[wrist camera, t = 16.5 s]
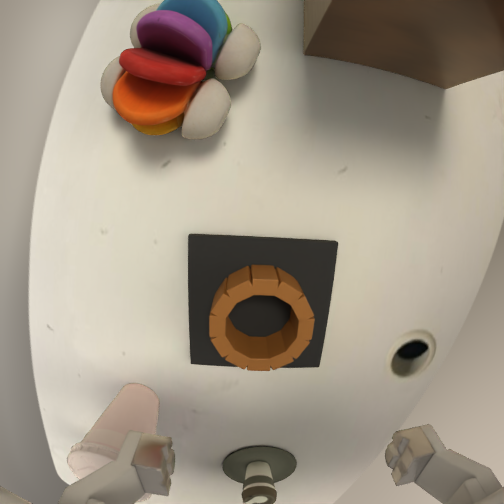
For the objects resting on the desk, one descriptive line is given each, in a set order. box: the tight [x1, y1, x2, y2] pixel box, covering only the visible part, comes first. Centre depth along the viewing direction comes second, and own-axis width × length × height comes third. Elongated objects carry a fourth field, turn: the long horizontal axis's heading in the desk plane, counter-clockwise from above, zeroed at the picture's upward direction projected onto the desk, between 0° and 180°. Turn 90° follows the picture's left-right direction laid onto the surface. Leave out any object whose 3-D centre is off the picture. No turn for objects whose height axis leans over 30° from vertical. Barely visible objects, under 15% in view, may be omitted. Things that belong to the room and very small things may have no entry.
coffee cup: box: [223, 447, 296, 504], centre depth 24 cm, size 12×12×5 cm
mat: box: [188, 234, 338, 368], centre depth 22 cm, size 10×10×1 cm
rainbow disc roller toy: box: [101, 0, 261, 139], centre depth 14 cm, size 8×10×7 cm
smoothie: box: [67, 383, 160, 502], centre depth 17 cm, size 6×6×14 cm
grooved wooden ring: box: [209, 265, 315, 371], centre depth 20 cm, size 6×6×3 cm
